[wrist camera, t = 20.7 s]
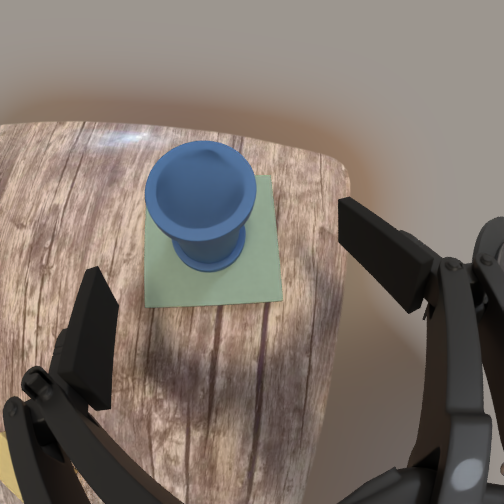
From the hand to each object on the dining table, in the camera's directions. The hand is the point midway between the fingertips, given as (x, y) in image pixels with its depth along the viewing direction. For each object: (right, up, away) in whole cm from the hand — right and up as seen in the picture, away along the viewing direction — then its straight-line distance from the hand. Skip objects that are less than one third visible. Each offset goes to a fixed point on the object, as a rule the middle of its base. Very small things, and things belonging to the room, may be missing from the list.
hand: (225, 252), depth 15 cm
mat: (-2, +1, +11) cm, 12 cm away
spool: (-2, +1, +11) cm, 11 cm away
